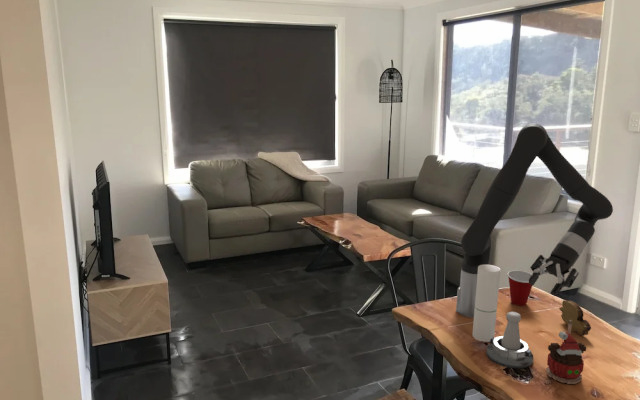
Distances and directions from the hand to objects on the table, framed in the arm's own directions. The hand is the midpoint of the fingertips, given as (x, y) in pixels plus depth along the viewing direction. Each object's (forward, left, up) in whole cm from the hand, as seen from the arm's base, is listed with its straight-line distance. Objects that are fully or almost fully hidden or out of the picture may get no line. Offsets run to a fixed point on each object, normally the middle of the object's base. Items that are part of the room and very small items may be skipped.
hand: (541, 289), depth 165 cm
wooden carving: (+5, +22, -21) cm, 31 cm away
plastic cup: (-18, +31, -21) cm, 41 cm away
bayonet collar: (-4, -13, -20) cm, 24 cm away
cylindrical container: (-16, -6, -21) cm, 26 cm away
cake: (+13, -13, -21) cm, 27 cm away
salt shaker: (-4, -12, -19) cm, 23 cm away
